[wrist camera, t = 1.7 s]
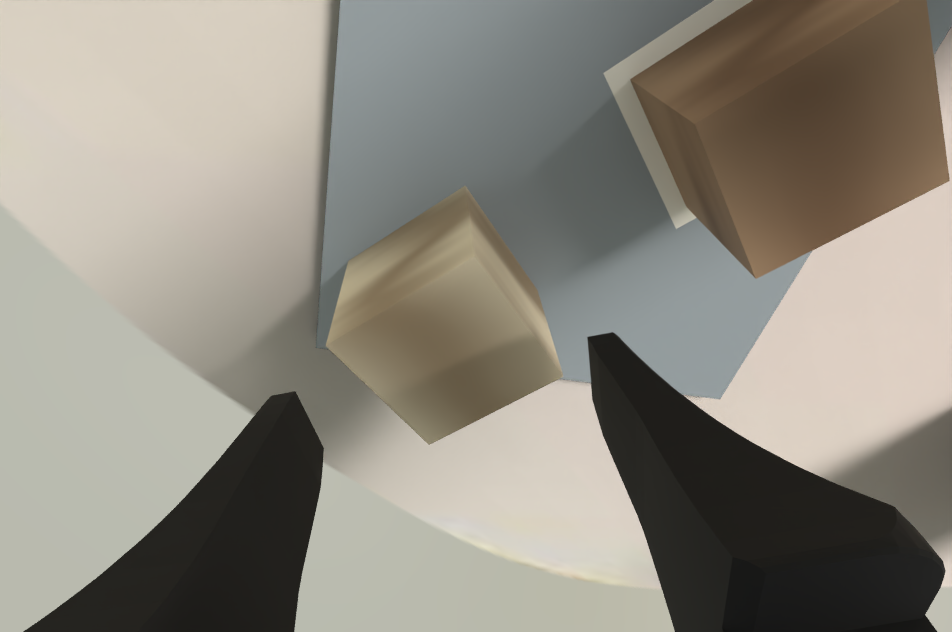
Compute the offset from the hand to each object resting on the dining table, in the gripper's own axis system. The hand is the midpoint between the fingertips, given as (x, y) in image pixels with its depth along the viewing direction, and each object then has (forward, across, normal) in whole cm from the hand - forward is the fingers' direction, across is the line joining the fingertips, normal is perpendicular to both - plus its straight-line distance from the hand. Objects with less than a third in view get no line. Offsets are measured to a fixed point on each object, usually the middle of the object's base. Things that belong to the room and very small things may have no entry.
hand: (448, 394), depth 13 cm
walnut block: (+6, -9, -4) cm, 11 cm away
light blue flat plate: (+6, -5, -2) cm, 8 cm away
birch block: (+6, 0, 0) cm, 6 cm away
